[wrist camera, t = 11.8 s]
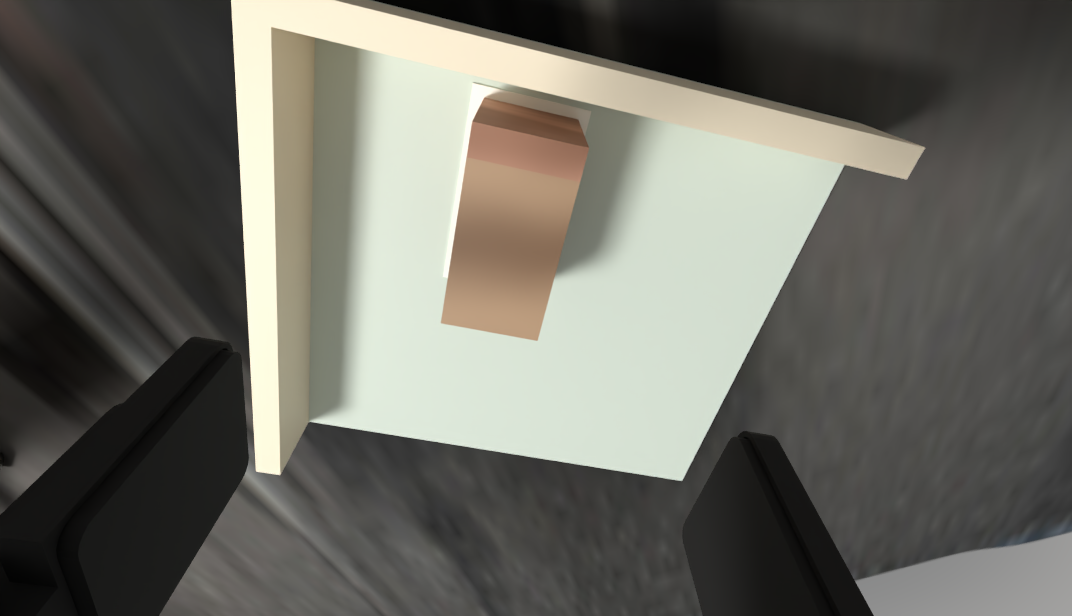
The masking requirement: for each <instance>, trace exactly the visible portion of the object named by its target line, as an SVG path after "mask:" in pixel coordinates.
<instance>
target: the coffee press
mask: <svg viewBox="0 0 1072 616" xmlns="http://www.w3.org/2000/svg"><path fill="white" fill-rule="evenodd" d="M3 461H4V457H3V455H2V454H1V453H0V470H1V467H2V464H3Z"/></svg>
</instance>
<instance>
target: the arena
mask: <svg viewBox="0 0 1072 616" xmlns="http://www.w3.org/2000/svg"><path fill="white" fill-rule="evenodd" d="M231 5H232V24H233V43H234V62H235V81H236V100H237V119H238V138H239V157H240V176H241V195H242V214H243V233H244V252H245V271H246V290H247V309H248V328H249V347H250V366H251V385H252V404H253V423H254V442H255V461H256V471H257V472H263V473H270V474H277V475H281V473H282V471H283V469H284V467H285V465H286V463H287V462H288V460H289V458H290V456H291V454H292V452H293V450H294V448H295V447H296V445H297V443H298V441H299V439H300V437H301V435H302V433H303V431H304V430H305V428H306V426H307V424H308V422H315V423H322V424H328V425H334V426H340V427H347V428H353V429H359V430H366V431H372V432H378V433H384V434H391V435H397V436H403V437H409V438H416V439H422V440H428V441H435V442H441V443H447V444H453V445H460V446H466V447H472V448H478V449H485V450H491V451H497V452H504V453H510V454H516V455H522V456H529V457H535V458H541V459H547V460H554V461H560V462H566V463H573V464H579V465H585V466H591V467H598V468H604V469H610V470H616V471H623V472H629V473H635V474H642V475H648V476H654V477H660V478H667V479H673V480H679V481H682V480H683V478H684V476H685V474H686V472H687V470H688V468H689V466H690V464H691V462H692V461H693V459H694V457H695V455H696V453H697V451H698V449H699V447H700V445H701V443H702V441H703V439H704V437H705V435H706V433H707V431H708V429H709V427H710V426H711V424H712V422H713V420H714V418H715V416H716V414H717V412H718V410H719V408H720V406H721V404H722V402H723V400H724V398H725V396H726V394H727V392H728V391H729V389H730V387H731V385H732V383H733V381H734V379H735V377H736V375H737V373H738V371H739V369H740V367H741V365H742V363H743V361H744V359H745V357H746V356H747V354H748V352H749V350H750V348H751V346H752V344H753V342H754V340H755V338H756V336H757V334H758V332H759V330H760V328H761V326H762V324H763V322H764V321H765V319H766V317H767V315H768V313H769V311H770V309H771V307H772V305H773V303H774V301H775V299H776V297H777V295H778V293H779V291H780V289H781V288H782V286H783V284H784V282H785V280H786V278H787V276H788V274H789V272H790V270H791V268H792V266H793V264H794V262H795V260H796V258H797V256H798V254H799V253H800V251H801V249H802V247H803V245H804V243H805V241H806V239H807V237H808V235H809V233H810V231H811V229H812V227H813V225H814V223H815V221H816V219H817V218H818V216H819V214H820V212H821V210H822V208H823V206H824V204H825V202H826V200H827V198H828V196H829V194H830V192H831V190H832V188H833V186H834V184H835V183H836V181H837V179H838V177H839V175H840V173H841V171H842V169H843V167H844V165H848V166H852V167H856V168H860V169H865V170H869V171H873V172H877V173H881V174H885V175H890V176H894V177H898V178H902V179H906V180H907V178H908V176H909V175H910V173H911V171H912V170H913V168H914V166H915V164H916V163H917V161H918V159H919V157H920V156H921V154H922V152H923V151H924V149H925V147H923V146H920V145H917V144H915V143H912V142H909V141H907V140H904V139H901V138H899V137H896V136H893V135H891V134H888V133H885V132H883V131H880V130H877V129H875V128H872V127H869V126H867V125H864V124H861V123H859V122H855V121H851V120H847V119H843V118H839V117H835V116H831V115H827V114H823V113H819V112H815V111H811V110H807V109H803V108H799V107H795V106H791V105H787V104H783V103H779V102H775V101H771V100H767V99H763V98H759V97H755V96H751V95H747V94H743V93H739V92H735V91H731V90H727V89H723V88H719V87H715V86H711V85H707V84H703V83H699V82H695V81H691V80H687V79H683V78H679V77H675V76H671V75H667V74H663V73H659V72H655V71H651V70H647V69H643V68H639V67H635V66H632V65H628V64H624V63H620V62H616V61H612V60H608V59H604V58H600V57H596V56H592V55H588V54H584V53H580V52H576V51H572V50H568V49H564V48H560V47H556V46H552V45H548V44H544V43H540V42H536V41H532V40H528V39H524V38H520V37H516V36H512V35H508V34H504V33H500V32H496V31H492V30H488V29H484V28H480V27H476V26H472V25H468V24H464V23H460V22H456V21H452V20H448V19H444V18H440V17H436V16H432V15H428V14H424V13H420V12H416V11H412V10H408V9H404V8H400V7H397V6H393V5H389V4H385V3H381V2H377V1H373V0H231ZM484 98H489V99H493V100H497V101H501V102H506V103H510V104H514V105H519V106H523V107H527V108H532V109H536V110H540V111H544V112H549V113H553V114H557V115H562V116H566V117H570V118H574V119H578V120H579V123H580V125H581V128H582V130H583V133H584V136H585V138H586V141H587V143H588V146H589V151H588V154H587V158H586V162H585V166H584V169H583V173H582V177H581V181H580V184H579V188H578V192H577V196H576V199H575V203H574V207H573V210H572V214H571V218H570V222H569V225H568V229H567V233H566V237H565V240H564V244H563V248H562V252H561V255H560V259H559V263H558V267H557V270H556V274H555V278H554V281H553V285H552V289H551V293H550V296H549V300H548V304H547V308H546V311H545V315H544V319H543V323H542V326H541V330H540V334H539V338H538V341H535V340H529V339H524V338H518V337H513V336H507V335H502V334H496V333H491V332H486V331H480V330H475V329H469V328H464V327H458V326H453V325H447V324H442V323H441V318H442V312H443V305H444V299H445V292H446V286H447V279H448V273H449V267H450V260H451V254H452V247H453V241H454V235H455V228H456V222H457V215H458V209H459V202H460V196H461V190H462V183H463V177H464V170H465V164H466V157H467V151H468V145H469V138H470V132H471V125H472V121H473V119H474V117H475V115H476V113H477V111H478V109H479V107H480V105H481V103H482V101H483V99H484Z"/></svg>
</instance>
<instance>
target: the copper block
mask: <svg viewBox="0 0 1072 616" xmlns="http://www.w3.org/2000/svg"><path fill="white" fill-rule="evenodd" d="M588 151H589V146H588V143H587V141H586V138H585V136H584V133H583V130H582V128H581V125H580V123H579V120H578V119H574V118H570V117H566V116H562V115H557V114H553V113H549V112H544V111H540V110H536V109H532V108H527V107H523V106H519V105H514V104H510V103H506V102H501V101H497V100H493V99H489V98H484V99H483V101H482V103H481V105H480V107H479V109H478V111H477V113H476V115H475V117H474V119H473V121H472V125H471V132H470V138H469V145H468V151H467V157H466V164H465V170H464V177H463V183H462V190H461V196H460V202H459V209H458V215H457V222H456V228H455V235H454V241H453V247H452V254H451V260H450V267H449V273H448V279H447V286H446V292H445V299H444V305H443V312H442V318H441V323H442V324H447V325H453V326H458V327H464V328H469V329H475V330H480V331H486V332H491V333H496V334H502V335H507V336H513V337H518V338H524V339H529V340H535V341H538V338H539V334H540V330H541V326H542V323H543V319H544V315H545V311H546V308H547V304H548V300H549V296H550V293H551V289H552V285H553V281H554V278H555V274H556V270H557V267H558V263H559V259H560V255H561V252H562V248H563V244H564V240H565V237H566V233H567V229H568V225H569V222H570V218H571V214H572V210H573V207H574V203H575V199H576V196H577V192H578V188H579V184H580V181H581V177H582V173H583V169H584V166H585V162H586V158H587V154H588Z"/></svg>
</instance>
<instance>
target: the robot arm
mask: <svg viewBox="0 0 1072 616" xmlns="http://www.w3.org/2000/svg"><path fill="white" fill-rule="evenodd" d="M248 459H249V455H248V442H247V428H246V414H245V400H244V387H243V373H242V359H241V355H240V353H238V352H233V350H232V346H231V345H230V343H228V342H223V341H218V340H212V339H206V338H200V337H192V338H190V339H189V340H187V341H186V342H185V343H184V344H183V345H182V346H181V347H180V348H179V349H178V350H177V351H176V352H175V353H174V354H173V355H172V356H171V357H170V358H169V359H168V360H167V361H166V362H165V363H164V364H163V365H162V366H161V367H160V368H159V369H158V370H157V371H156V372H155V373H154V374H153V375H152V376H151V377H150V378H149V379H148V380H147V381H145V382H144V383H143V384H142V385H141V386H140V387H139V388H138V389H137V390H136V391H135V392H134V393H133V394H132V395H131V396H130V397H129V398H128V399H127V400H126V401H125V402H124V403H122V404H119V405H116V406H114V407H113V408H112V409H110V410H109V411H108V412H107V413H106V414H104V415H103V416H102V417H101V418H100V419H99V420H98V421H97V422H96V423H95V424H94V425H93V426H92V427H91V428H90V429H89V430H88V431H87V432H86V433H85V434H84V435H83V436H82V437H81V438H80V439H79V440H78V441H77V442H76V443H74V444H73V445H72V446H71V447H70V448H69V449H68V450H67V451H66V452H65V453H64V454H63V455H62V456H61V457H60V458H59V459H58V460H57V461H56V462H55V463H54V464H53V465H52V466H51V467H50V468H49V469H48V470H47V471H45V472H44V473H43V474H42V475H41V476H40V477H39V478H38V479H37V480H36V481H35V482H34V483H33V484H32V485H31V486H30V487H29V488H28V489H27V490H26V491H25V492H24V493H23V494H22V495H21V496H20V497H19V498H18V499H17V500H15V501H14V502H13V503H12V504H11V505H10V506H9V507H8V508H7V509H6V510H5V511H4V512H3V513H2V514H1V515H0V616H159V614H160V613H161V611H162V610H163V608H164V606H165V605H166V603H167V601H168V600H169V598H170V596H171V595H172V593H173V592H174V590H175V588H176V587H177V585H178V583H179V582H180V580H181V578H182V577H183V575H184V574H185V572H186V570H187V569H188V567H189V565H190V564H191V562H192V560H193V559H194V557H195V555H196V554H197V552H198V551H199V549H200V547H201V546H202V544H203V542H204V541H205V539H206V537H207V536H208V534H209V533H210V531H211V529H212V528H213V526H214V524H215V523H216V521H217V519H218V518H219V516H220V515H221V513H222V511H223V510H224V508H225V506H226V505H227V503H228V501H229V500H230V498H231V497H232V495H233V493H234V492H235V490H236V488H237V487H238V485H239V483H240V482H241V480H242V478H243V476H244V474H245V472H246V469H247V466H248ZM682 537H683V544H684V547H685V551H686V555H687V558H688V562H689V566H690V570H691V573H692V577H693V581H694V584H695V588H696V592H697V595H698V599H699V603H700V607H701V610H702V614H703V616H874V615H873V614H872V612H871V610H870V608H869V606H868V604H867V603H866V601H865V599H864V597H863V595H862V594H861V592H860V590H859V588H858V586H857V584H856V582H855V581H854V579H853V577H852V575H851V573H850V571H849V570H848V568H847V566H846V564H845V562H844V560H843V559H842V557H841V555H840V553H839V551H838V549H837V548H836V546H835V544H834V542H833V540H832V538H831V537H830V535H829V533H828V531H827V529H826V527H825V526H824V524H823V522H822V520H821V518H820V516H819V515H818V513H817V511H816V509H815V507H814V505H813V504H812V502H811V500H810V498H809V496H808V494H807V493H806V491H805V489H804V487H803V485H802V483H801V482H800V480H799V478H798V476H797V474H796V473H795V471H794V469H793V467H792V465H791V463H790V462H789V460H788V458H787V456H786V454H785V452H784V451H783V449H782V447H781V445H780V443H779V441H778V440H777V439H776V438H775V437H774V436H771V435H766V434H760V433H754V432H748V431H743V432H742V433H740V434H739V436H738V437H733V438H731V439H730V441H729V442H728V444H727V446H726V448H725V449H724V451H723V453H722V455H721V457H720V459H719V460H718V462H717V464H716V466H715V468H714V470H713V471H712V473H711V475H710V477H709V479H708V481H707V482H706V484H705V486H704V488H703V490H702V492H701V493H700V495H699V497H698V499H697V501H696V503H695V504H694V506H693V508H692V510H691V512H690V514H689V515H688V517H687V519H686V521H685V523H684V526H683V533H682Z"/></svg>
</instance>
